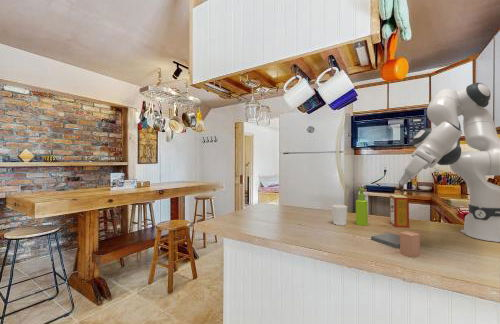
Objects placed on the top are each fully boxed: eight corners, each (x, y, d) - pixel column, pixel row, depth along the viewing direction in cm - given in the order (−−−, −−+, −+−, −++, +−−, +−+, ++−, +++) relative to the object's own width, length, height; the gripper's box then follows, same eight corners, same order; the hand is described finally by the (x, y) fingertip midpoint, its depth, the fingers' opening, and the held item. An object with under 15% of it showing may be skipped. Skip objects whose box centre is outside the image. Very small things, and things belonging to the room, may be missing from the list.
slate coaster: (388, 235, 114) (388, 232, 114) (415, 243, 103) (415, 239, 103) (371, 239, 108) (371, 236, 108) (397, 248, 98) (397, 244, 98)
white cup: (350, 224, 134) (350, 206, 134) (340, 226, 130) (340, 208, 130) (338, 221, 141) (338, 204, 141) (329, 223, 137) (329, 205, 137)
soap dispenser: (363, 222, 138) (363, 187, 138) (369, 225, 131) (369, 188, 131) (353, 222, 138) (352, 187, 137) (359, 225, 131) (358, 188, 131)
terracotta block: (407, 251, 94) (407, 230, 94) (419, 255, 90) (419, 234, 90) (400, 253, 92) (400, 232, 92) (412, 257, 88) (412, 235, 88)
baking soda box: (390, 222, 137) (389, 194, 137) (403, 223, 135) (403, 194, 135) (394, 227, 128) (394, 196, 128) (408, 227, 126) (408, 197, 126)
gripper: (415, 157, 108) (393, 181, 111) (418, 148, 91) (392, 177, 94) (429, 166, 105) (406, 190, 108) (435, 158, 88) (407, 187, 91)
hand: (400, 184), depth 101 cm, fingers open, 8 cm apart
